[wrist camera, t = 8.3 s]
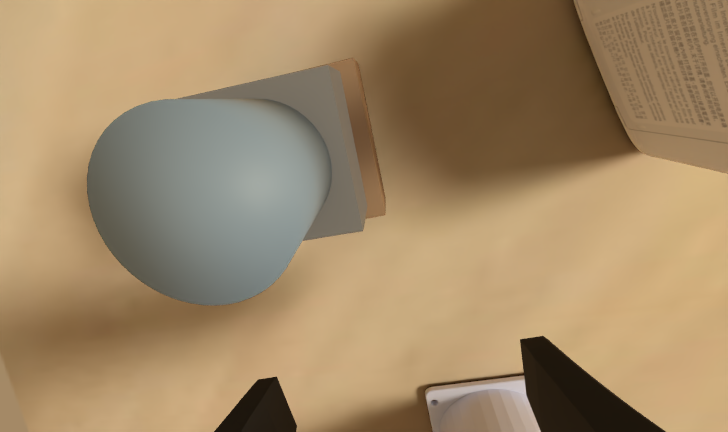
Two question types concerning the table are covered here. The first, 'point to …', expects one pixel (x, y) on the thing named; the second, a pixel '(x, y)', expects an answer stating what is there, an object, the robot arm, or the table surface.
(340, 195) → the block
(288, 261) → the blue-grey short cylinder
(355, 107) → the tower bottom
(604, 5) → the cream book
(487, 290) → the table surface
